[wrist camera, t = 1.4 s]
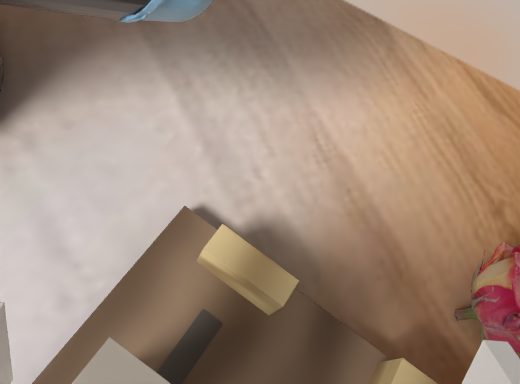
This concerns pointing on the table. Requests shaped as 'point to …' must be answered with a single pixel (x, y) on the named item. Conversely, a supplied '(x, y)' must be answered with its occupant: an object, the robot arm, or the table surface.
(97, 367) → the key cream
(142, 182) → the table surface
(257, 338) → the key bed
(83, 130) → the table surface
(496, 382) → the robot arm
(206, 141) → the table surface
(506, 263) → the flower
